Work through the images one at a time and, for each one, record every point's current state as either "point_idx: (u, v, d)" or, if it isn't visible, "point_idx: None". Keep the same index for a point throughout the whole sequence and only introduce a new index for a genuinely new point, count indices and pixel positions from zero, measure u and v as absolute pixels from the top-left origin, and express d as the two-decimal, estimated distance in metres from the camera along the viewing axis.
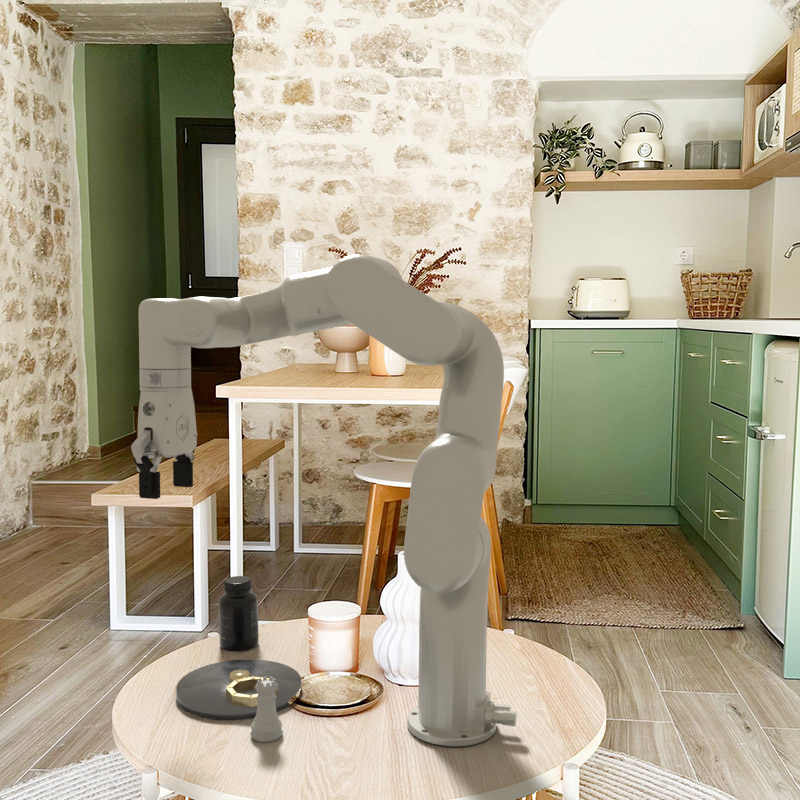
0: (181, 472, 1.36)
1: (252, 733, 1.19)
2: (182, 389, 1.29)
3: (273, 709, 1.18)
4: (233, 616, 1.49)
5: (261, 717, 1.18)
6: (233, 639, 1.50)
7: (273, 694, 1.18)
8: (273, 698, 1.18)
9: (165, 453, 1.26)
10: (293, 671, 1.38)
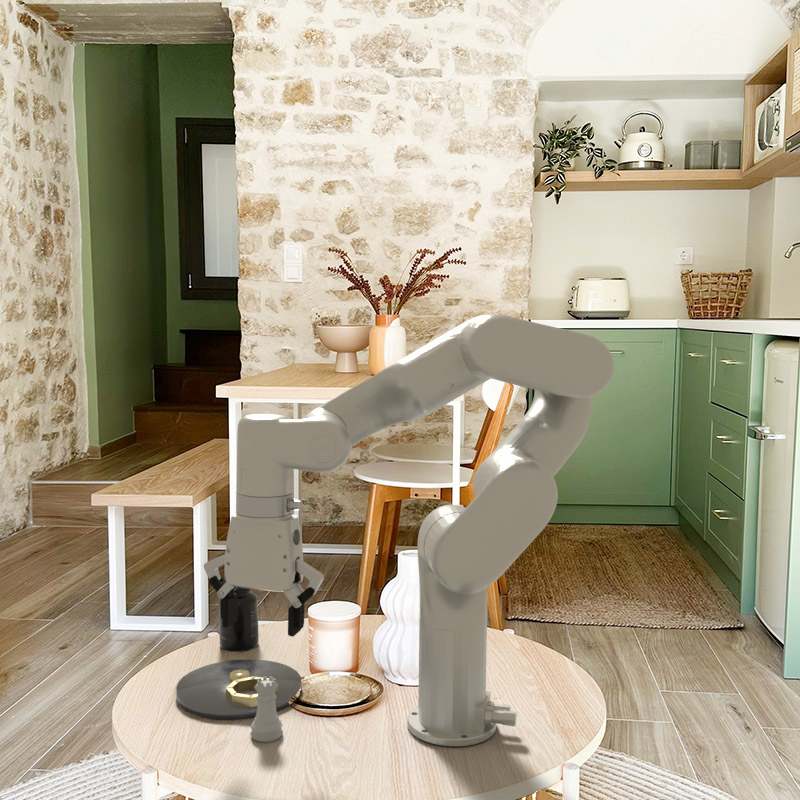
0: (232, 608, 1.19)
1: (252, 733, 1.19)
2: None
3: (273, 709, 1.18)
4: None
5: (261, 717, 1.18)
6: (233, 639, 1.50)
7: (273, 694, 1.18)
8: (273, 698, 1.18)
9: (301, 579, 1.19)
10: (293, 671, 1.38)
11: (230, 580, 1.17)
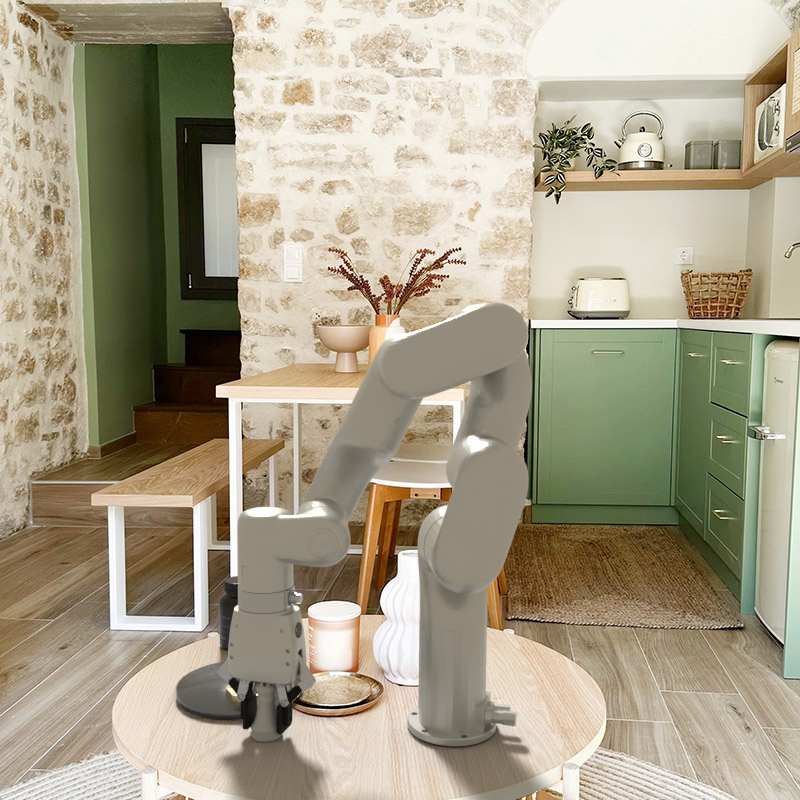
0: (252, 709, 1.20)
1: (252, 733, 1.19)
2: None
3: (273, 709, 1.18)
4: None
5: (261, 716, 1.18)
6: None
7: (273, 694, 1.18)
8: (273, 698, 1.18)
9: None
10: None
11: (234, 673, 1.18)
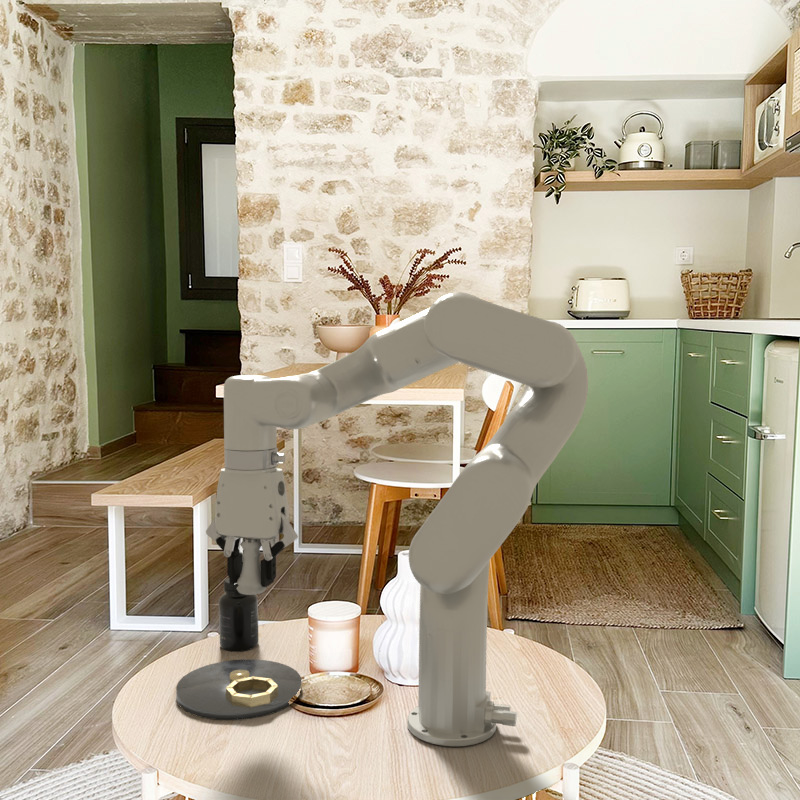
0: (238, 566, 1.27)
1: (238, 587, 1.26)
2: None
3: (258, 564, 1.26)
4: (233, 616, 1.49)
5: (246, 571, 1.26)
6: (233, 639, 1.50)
7: (258, 550, 1.26)
8: (258, 554, 1.26)
9: None
10: (293, 671, 1.38)
11: (221, 530, 1.26)
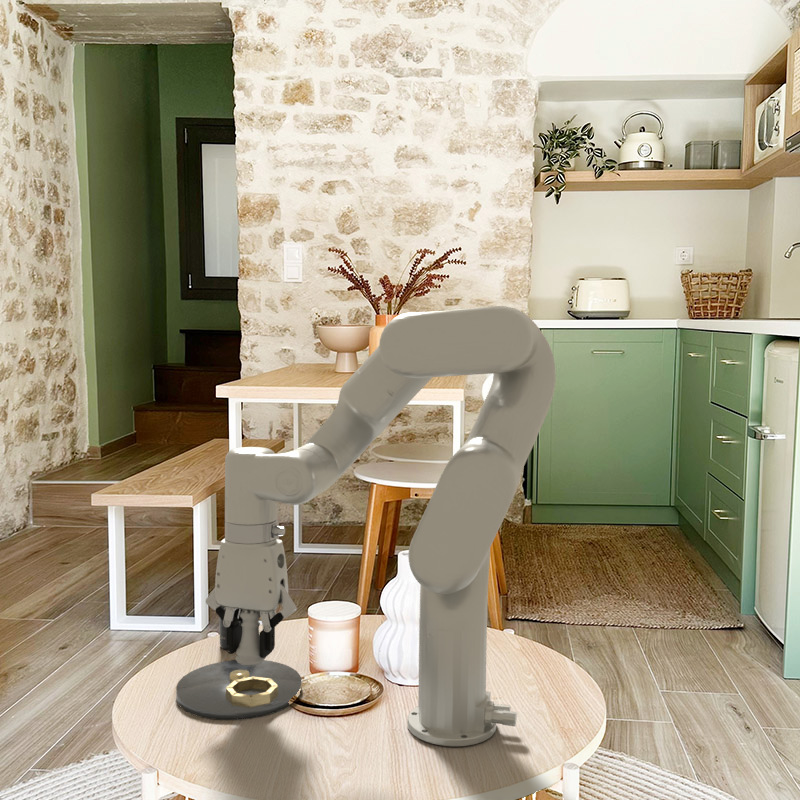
0: (237, 635, 1.28)
1: (237, 657, 1.27)
2: None
3: (256, 635, 1.27)
4: None
5: (245, 641, 1.27)
6: None
7: (257, 621, 1.27)
8: (257, 625, 1.27)
9: None
10: (293, 671, 1.38)
11: (220, 601, 1.26)
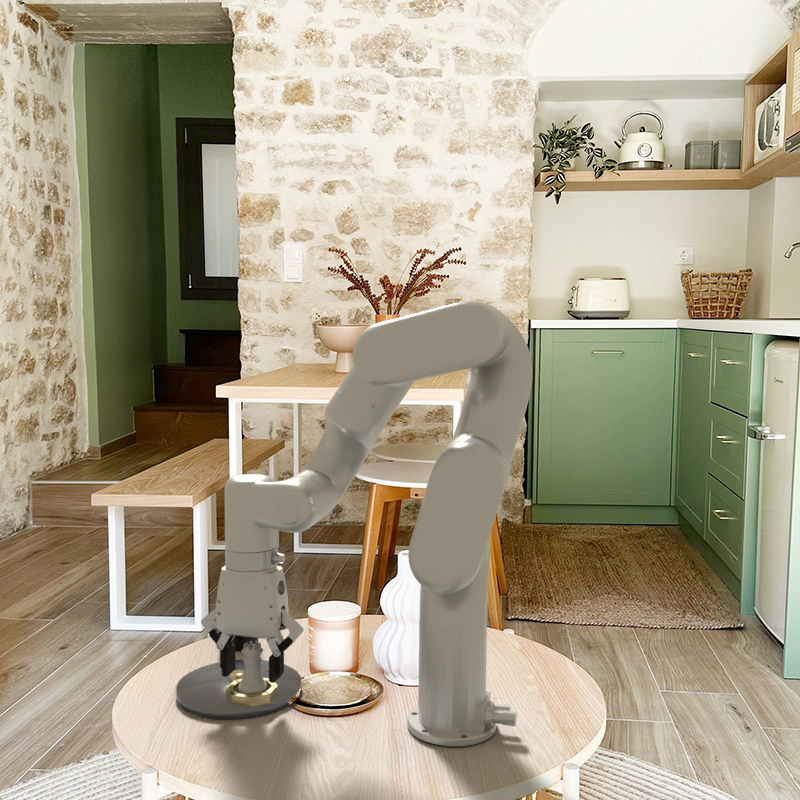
0: (230, 658, 1.29)
1: (239, 693, 1.28)
2: None
3: (258, 671, 1.28)
4: None
5: (247, 678, 1.27)
6: (233, 639, 1.50)
7: (258, 657, 1.28)
8: (258, 661, 1.27)
9: None
10: (293, 671, 1.38)
11: (221, 628, 1.27)
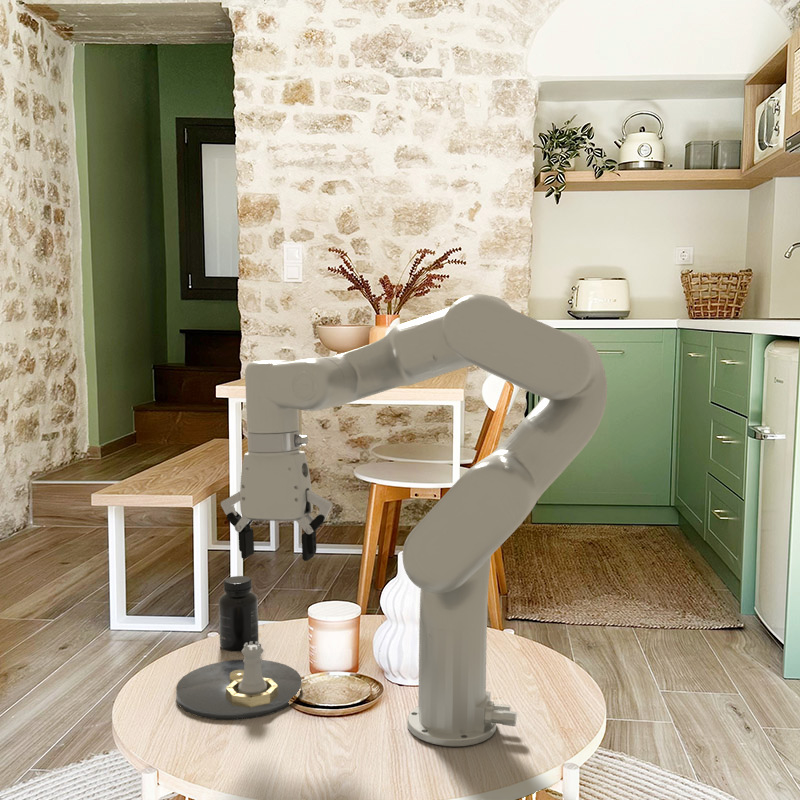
0: (249, 541, 1.30)
1: None
2: None
3: (259, 671, 1.28)
4: (233, 616, 1.49)
5: (247, 678, 1.27)
6: (233, 639, 1.50)
7: (259, 657, 1.28)
8: (259, 661, 1.27)
9: (311, 510, 1.30)
10: (293, 671, 1.38)
11: (246, 514, 1.27)
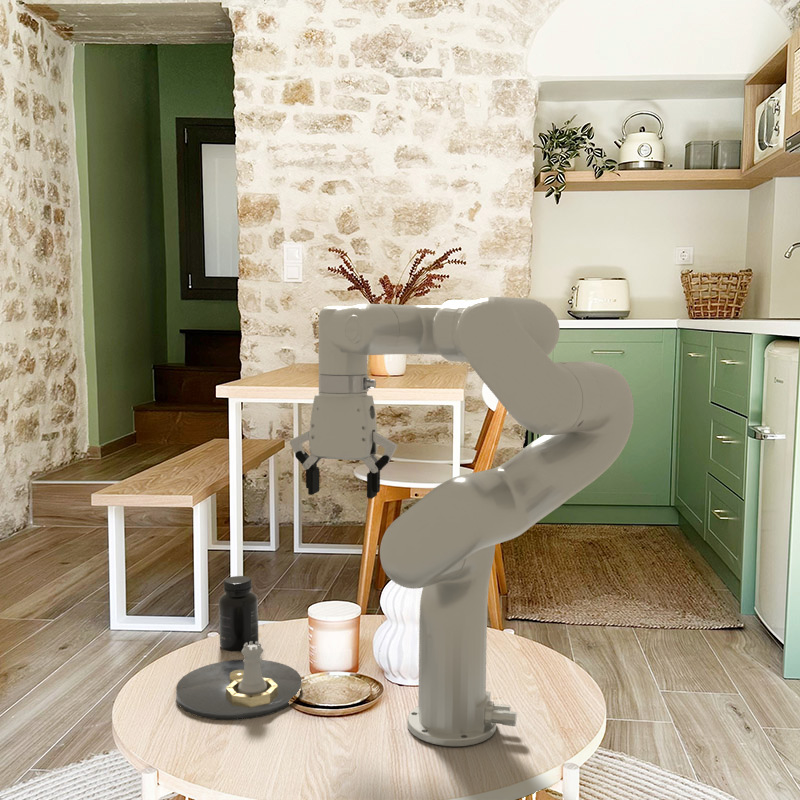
0: (316, 478, 1.36)
1: None
2: None
3: (258, 671, 1.28)
4: (233, 616, 1.49)
5: (247, 678, 1.27)
6: (233, 639, 1.50)
7: (258, 657, 1.28)
8: (258, 661, 1.27)
9: (376, 451, 1.36)
10: (293, 671, 1.38)
11: (315, 452, 1.34)
